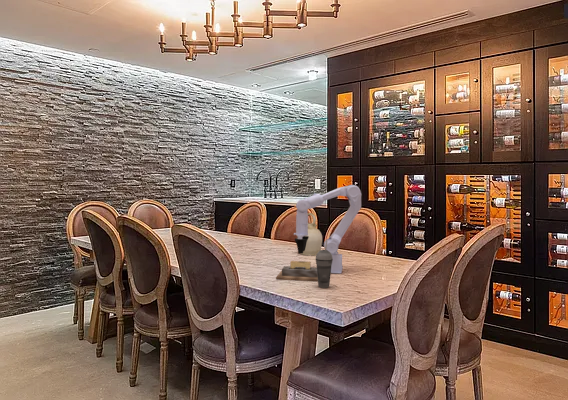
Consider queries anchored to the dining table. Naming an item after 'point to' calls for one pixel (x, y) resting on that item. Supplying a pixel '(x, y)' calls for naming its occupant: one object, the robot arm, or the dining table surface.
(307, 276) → the rail board
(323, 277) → the beverage cup
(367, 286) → the dining table surface
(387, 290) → the dining table surface
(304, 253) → the jug
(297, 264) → the pine wood offcut
